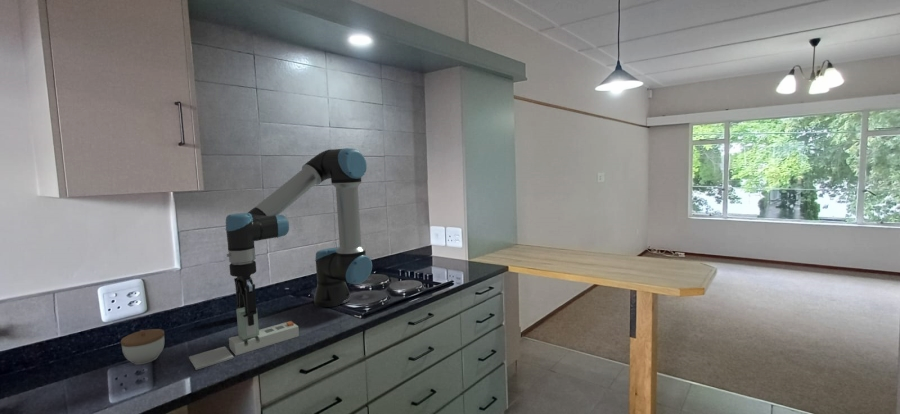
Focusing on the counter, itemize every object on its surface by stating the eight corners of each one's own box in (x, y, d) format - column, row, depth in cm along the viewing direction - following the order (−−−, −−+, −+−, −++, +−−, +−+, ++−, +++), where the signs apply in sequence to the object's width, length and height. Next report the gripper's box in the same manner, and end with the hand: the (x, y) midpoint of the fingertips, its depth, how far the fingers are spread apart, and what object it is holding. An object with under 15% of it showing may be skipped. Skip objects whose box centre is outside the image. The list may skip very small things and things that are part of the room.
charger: (255, 335, 136) (252, 305, 135) (259, 339, 133) (257, 308, 132) (238, 340, 133) (236, 309, 132) (243, 344, 129) (240, 312, 128)
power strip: (291, 330, 145) (290, 318, 145) (299, 336, 140) (298, 324, 140) (229, 348, 132) (228, 335, 132) (235, 355, 127) (234, 342, 126)
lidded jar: (118, 371, 119) (114, 340, 118) (129, 356, 129) (126, 327, 128) (162, 363, 123) (158, 333, 122) (170, 349, 133) (167, 321, 132)
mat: (225, 348, 132) (224, 346, 132) (233, 358, 125) (233, 356, 125) (189, 358, 126) (189, 356, 126) (196, 369, 118) (195, 368, 118)
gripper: (222, 259, 134) (228, 327, 136) (237, 268, 121) (244, 344, 123) (246, 255, 139) (252, 321, 141) (264, 264, 126) (269, 336, 128)
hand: (248, 331), depth 132 cm, fingers closed on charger, 4 cm apart
